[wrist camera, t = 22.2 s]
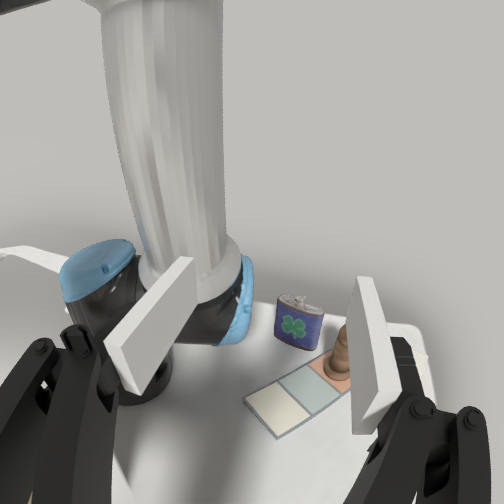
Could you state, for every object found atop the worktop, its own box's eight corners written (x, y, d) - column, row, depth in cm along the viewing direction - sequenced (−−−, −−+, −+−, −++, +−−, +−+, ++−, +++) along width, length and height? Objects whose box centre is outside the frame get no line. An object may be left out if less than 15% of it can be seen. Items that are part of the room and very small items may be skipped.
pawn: (317, 368, 44) (331, 323, 39) (337, 355, 46) (351, 310, 42) (338, 386, 40) (357, 342, 35) (357, 371, 43) (376, 327, 38)
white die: (377, 388, 39) (389, 366, 37) (388, 367, 44) (399, 344, 41) (406, 401, 36) (421, 379, 33) (415, 378, 40) (428, 356, 37)
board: (242, 399, 39) (242, 397, 38) (330, 350, 49) (331, 348, 48) (276, 440, 32) (277, 438, 32) (365, 377, 42) (366, 375, 41)
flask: (318, 345, 50) (328, 300, 45) (312, 354, 48) (321, 309, 43) (277, 328, 55) (281, 284, 50) (270, 336, 53) (273, 291, 48)
